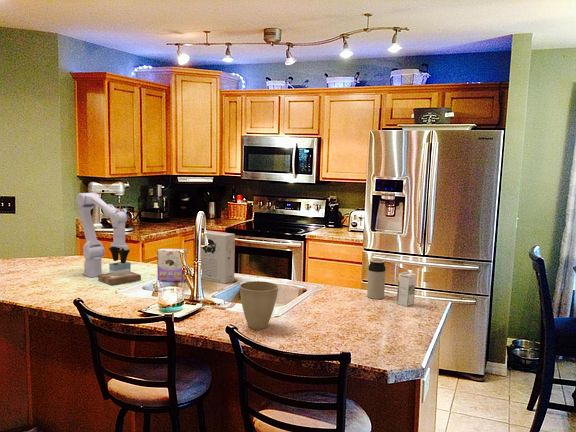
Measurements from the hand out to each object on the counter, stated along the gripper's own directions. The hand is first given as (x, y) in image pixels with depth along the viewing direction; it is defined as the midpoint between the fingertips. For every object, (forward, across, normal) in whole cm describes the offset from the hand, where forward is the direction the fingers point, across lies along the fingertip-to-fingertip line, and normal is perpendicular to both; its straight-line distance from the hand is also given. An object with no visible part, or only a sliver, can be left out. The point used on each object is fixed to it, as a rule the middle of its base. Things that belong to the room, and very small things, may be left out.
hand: (119, 262), depth 260 cm
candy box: (+10, +17, +20) cm, 28 cm away
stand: (+10, 0, 0) cm, 10 cm away
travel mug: (+10, +107, +73) cm, 130 cm away
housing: (+7, 0, 0) cm, 7 cm away
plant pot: (+10, +99, +3) cm, 100 cm away
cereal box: (+10, +29, +38) cm, 49 cm away
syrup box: (+10, +123, +73) cm, 143 cm away
